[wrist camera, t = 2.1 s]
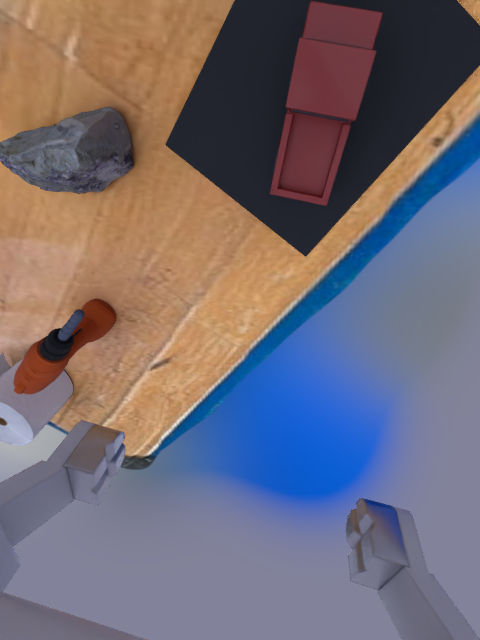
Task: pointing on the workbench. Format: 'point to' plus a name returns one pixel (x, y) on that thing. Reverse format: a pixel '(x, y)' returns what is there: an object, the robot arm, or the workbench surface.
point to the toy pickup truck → (323, 98)
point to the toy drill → (62, 346)
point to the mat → (272, 91)
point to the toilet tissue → (28, 405)
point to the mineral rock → (72, 152)
